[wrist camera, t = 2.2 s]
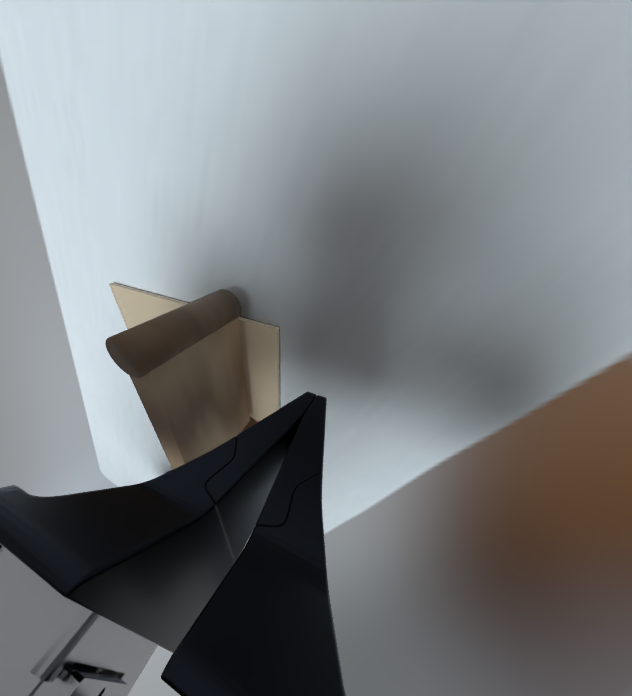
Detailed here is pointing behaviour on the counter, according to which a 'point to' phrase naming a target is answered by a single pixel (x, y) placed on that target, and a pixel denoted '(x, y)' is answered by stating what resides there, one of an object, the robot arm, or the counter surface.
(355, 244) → the counter surface
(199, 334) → the fence gate
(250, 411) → the card
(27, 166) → the counter surface
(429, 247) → the counter surface
